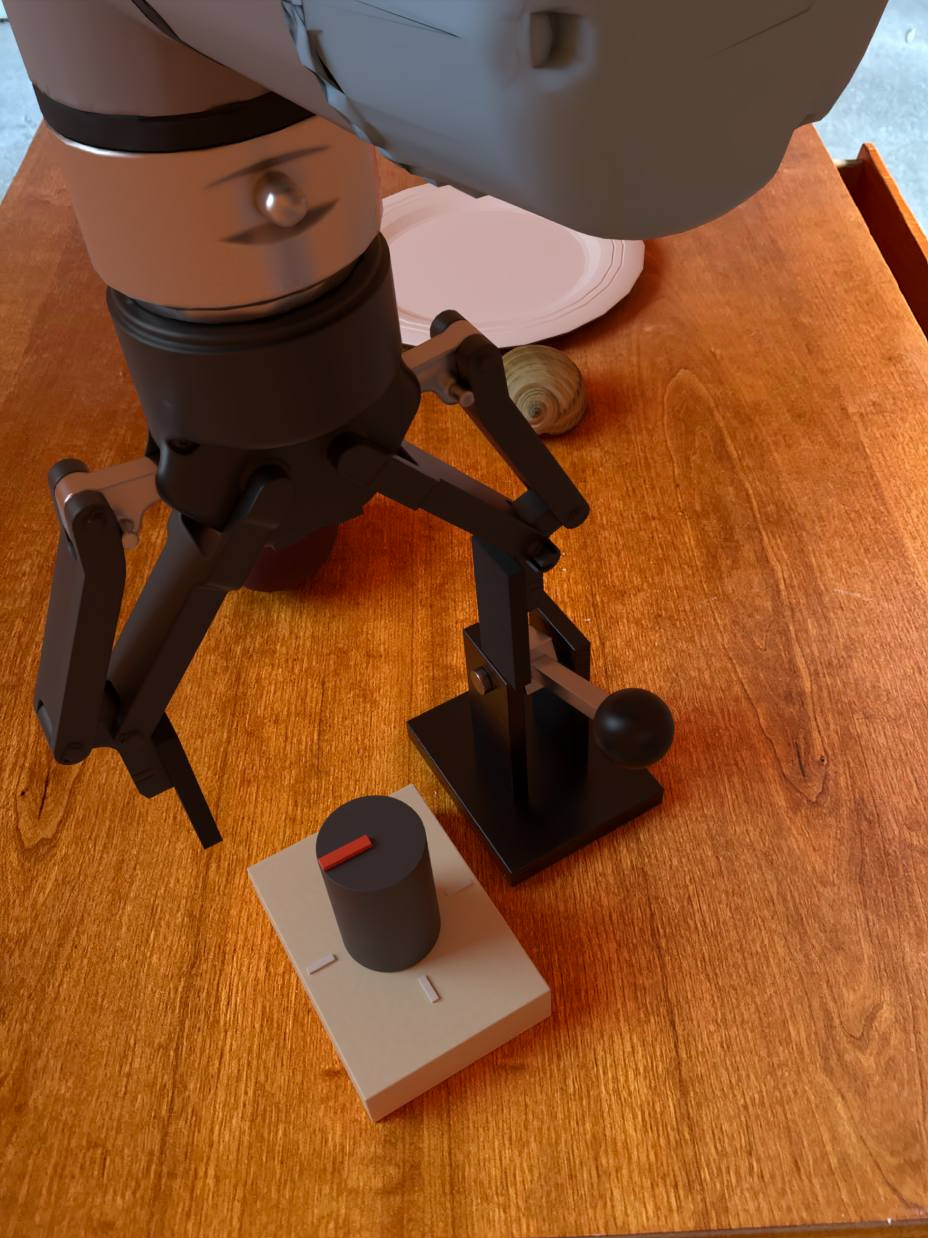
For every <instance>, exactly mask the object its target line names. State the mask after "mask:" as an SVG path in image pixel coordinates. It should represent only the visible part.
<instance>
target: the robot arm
mask: <svg viewBox="0 0 928 1238" xmlns="http://www.w3.org/2000/svg"><path fill="white" fill-rule="evenodd" d="M889 1H890V0H1V3H2V6H3V9H4V12H5V14H6V17H7V21H8V23H9V26H10V29H11V31H12V33H13V37H14V40H15V42H16V45H17V48H18V51H19V54H20V57H21V59H22V62H23V65H24V68H25V71H26V73H27V76H28V79H29V81H30V82H31V86H32V89H33V92H34V95H35V99H36V102H37V105H38V107H39V111H40V113H41V114H42V118H43V121H44V124H45V127H46V130H47V133H48V137H49V139H50V142H51V146H52V148H53V151H54V154H55V157H56V160H57V163H58V166H59V170H60V172H61V175H62V179H63V180H64V185H65V188H66V191H67V193H68V196H69V198H70V202H71V204H72V208H73V211H74V214H75V218H76V220H77V223H78V226H79V230H80V232H81V235H82V238H83V242H84V245H85V248H86V251H87V253H88V257H89V259H90V262H91V265H92V268H93V269H94V270H95V272H96V273H97V275H98V276H99V277H100V278H101V280H102V281H103V282H104V284H105V285H106V291H105V302H106V306H107V309H108V312H109V317H110V318H111V322H112V324H113V327H114V331H115V332H116V333H115V334H116V335H117V338H118V341H119V344H120V347H121V350H122V353H123V355H124V359H125V361H126V365H127V367H128V370H129V373H130V377H131V378H132V381H133V385H134V387H135V390H136V393H137V396H138V399H139V401H140V405H141V407H142V410H143V413H144V416H145V420H146V425H147V439H146V444H145V446H144V447H145V448H144V451H143V456H142V457H139V458H135V459H132V460H128V461H125V462H121V463H118V464H115V465H110V466H108V467H104V468H101V469H97V470H94V471H91V469H90V468H89V466H88V464H87V463H86V462H84V461H83V460H81V459H79V458H74V457H69V458H63V459H61V460H59V461H57V462H55V463H54V464H53V465H52V466H51V467H50V468H49V471H48V473H47V475H46V477H47V485H48V489H49V492H50V496H51V500H52V503H53V506H54V510H55V513H56V517H57V520H58V523H59V526H60V531H59V537H58V543H57V549H56V557H55V562H54V567H53V575H52V582H51V588H50V594H49V601H48V607H47V613H46V619H45V626H44V633H43V637H42V638H43V639H42V645H41V651H40V658H39V663H38V672H37V676H36V683H35V690H34V695H33V702H32V706H33V711H34V713H35V715H36V718H37V720H38V723H39V725H40V728H41V730H42V733H43V735H44V737H45V740H46V742H47V744H48V745H47V746H48V747H49V749H50V752H51V755H52V757H53V759H54V761H55V762H56V763H57V764H59V765H62V766H74V765H77V764H80V763H82V762H83V761H85V760H86V759H87V758H88V757H89V756H90V755H91V753H92V751H93V750H95V749H99V748H100V749H101V748H110V749H112V750H115V751H117V753H118V754H119V756H120V758H121V760H122V762H123V764H124V765H125V767H126V769H127V771H128V774H129V775H130V777H131V779H132V781H133V784H134V785H135V788H136V789H137V791H138V793H139V794H140V795H141V796H144V797H145V798H146V799H148V800H150V799H153V798H154V797H156V796H158V795H161V794H163V793H164V792H167V791H168V790H171V789H174V791H175V793H176V795H177V797H178V800H179V802H180V804H181V806H182V808H183V810H184V812H185V814H186V816H187V818H188V820H189V822H190V824H191V826H192V828H193V830H194V832H195V834H196V837H197V838H198V841H199V842H200V844H201V846H202V848H203V850H204V851H206V850H208V849H209V848H211V847H213V846H215V845H217V844H219V843H221V842H223V841H224V839H223V836H222V834H221V832H220V830H219V828H218V825H217V823H216V821H215V818H214V816H213V814H212V812H211V809H210V807H209V804H208V802H207V800H206V797H205V795H204V793H203V791H202V788H201V786H200V784H199V781H198V779H197V777H196V775H195V774H196V773H195V772H194V770H193V768H192V765H191V763H190V761H189V758H188V756H187V753H186V752H185V749H184V747H183V744H182V742H181V740H180V737H179V735H178V733H177V731H176V729H175V728H174V726H173V724H172V722H171V720H170V718H169V716H168V714H167V712H166V709H167V708H168V706H169V703H170V702H171V700H172V699H173V697H174V694H175V692H176V691H177V689H178V688H179V686H180V683H181V681H182V680H183V678H184V677H185V674H186V672H187V670H188V668H189V667H190V665H191V662H192V661H193V659H194V657H195V655H196V653H197V651H198V650H199V648H200V646H201V644H202V643H203V640H204V638H205V636H206V635H207V633H208V630H209V629H210V627H211V625H212V623H213V622H214V620H215V617H216V616H217V614H218V612H219V610H220V608H221V607H222V605H223V602H224V601H225V599H226V597H227V595H228V594H229V592H231V591H234V592H237V591H239V590H240V589H242V587H244V586H243V585H244V583H245V581H246V579H247V577H248V575H249V573H250V572H251V570H252V568H253V566H254V564H255V562H256V560H257V559H258V557H259V555H260V553H261V551H262V549H263V547H269V546H271V547H272V548H273V550H274V551H275V552H278V551H280V550H282V549H285V548H287V547H289V546H291V545H294V544H296V543H298V542H299V541H301V540H302V539H304V538H305V537H307V536H308V535H310V534H311V533H312V532H314V531H315V530H317V529H319V528H321V527H326V526H331V525H336V524H339V525H340V524H344V523H346V522H349V521H351V520H353V519H355V518H357V517H360V516H362V515H364V514H365V512H364V506H365V505H367V504H368V503H369V502H370V501H371V500H372V499H373V498H374V497H375V495H376V494H380V495H381V496H384V497H386V498H388V499H390V500H392V501H394V502H396V503H398V504H400V505H402V506H404V507H406V508H408V509H410V510H412V511H416V512H417V511H418V510H419V509H420V510H422V511H424V512H427V513H428V514H430V515H433V516H434V517H437V518H438V519H439V520H442V521H444V522H446V523H448V524H450V525H452V526H454V527H456V528H459V529H461V530H463V531H464V532H467V533H468V534H471V535H470V543H471V544H470V545H471V554H472V563H473V574H474V584H475V585H474V586H475V594H476V605H477V614H478V622H479V626H480V637H481V647H482V650H483V651H484V653H485V654H486V655H487V656H488V657H489V659H490V660H491V661H492V662H493V663H494V665H495V666H496V667H497V668H498V670H499V671H500V672H501V673H502V674H503V676H504V677H505V678H506V679H507V681H508V682H509V683H510V684H511V685H512V687H513V688H514V689H515V690H518V689H520V688H522V687H524V686H526V685H528V684H530V683H531V664H530V644H529V612H530V611H532V610H534V609H536V608H538V607H540V605H541V603H542V600H543V597H544V591H545V586H544V584H545V583H544V574H545V573H548V572H550V571H552V570H553V568H555V567H556V566H557V565H558V563H559V561H560V559H561V557H562V553H561V549H560V548H559V547H558V546H557V545H556V543H554V541H552V540H551V539H550V537H551V536H552V535H554V534H555V533H556V532H557V531H558V530H560V529H561V528H562V527H564V528H565V529H567V530H574V529H576V528H579V527H580V526H581V525H582V524H584V522H586V520H588V517H589V515H590V511H591V507H590V504H589V502H587V499H586V498H585V497H584V496H583V494H582V493H581V491H580V490H579V489H578V488H577V486H576V485H575V483H574V482H573V481H572V479H571V478H570V477H569V475H568V474H567V472H566V471H565V470H564V469H563V467H562V466H561V464H560V463H559V462H558V460H557V459H556V458H555V456H554V455H553V454H552V452H551V451H550V450H549V448H548V446H546V444H545V442H544V441H543V440H542V439H541V437H540V436H539V435H537V433H536V432H535V431H534V429H533V428H532V426H531V425H530V424H529V422H528V421H527V420H526V418H525V417H524V416H523V414H522V413H521V411H520V410H519V409H518V407H517V406H516V405H515V403H514V402H513V401H512V399H511V398H510V396H509V392H508V386H507V381H506V375H505V370H504V364H503V359H502V356H503V355H502V352H501V349H499V348H498V347H497V346H496V345H495V344H493V343H492V342H491V341H490V340H489V339H488V338H486V337H485V336H484V335H483V334H482V333H481V332H480V331H479V330H478V329H477V328H475V327H474V326H473V325H472V324H471V323H470V322H469V321H468V320H466V319H465V318H464V317H463V316H462V315H461V314H460V313H458V312H457V311H456V310H450V309H449V310H445V311H442V312H441V313H440V314H438V315H437V316H436V317H435V319H434V320H433V321H432V323H431V326H430V338H431V339H429V340H427V341H425V342H423V343H421V344H420V345H418V346H416V347H411V348H410V349H408V350H406V351H404V352H403V345H402V338H401V330H400V323H399V316H398V308H397V301H396V294H395V287H394V279H393V272H392V265H391V257H390V250H389V246H388V244H387V241H386V239H385V237H384V236H383V234H382V233H381V232H380V228H381V222H382V216H383V202H382V199H383V196H382V188H381V180H380V174H379V173H380V172H379V167H378V159H377V152H376V148H377V150H378V152H379V155H380V156H381V157H382V158H385V159H386V160H388V161H390V162H391V163H393V164H394V165H396V166H397V167H399V168H401V169H404V170H405V171H406V172H408V174H409V175H412V176H415V177H420V178H422V180H424V181H425V182H427V183H430V184H432V185H434V186H436V187H442V186H447V185H450V186H452V187H453V188H455V189H457V190H459V191H461V192H463V193H465V194H467V195H470V196H472V197H474V198H475V199H477V198H481V197H484V196H487V195H490V196H492V197H495V198H497V199H500V200H502V201H505V202H507V203H509V204H512V205H514V206H517V207H519V208H521V209H524V210H526V211H529V212H531V213H534V214H536V215H538V216H541V217H543V218H546V219H548V220H550V221H553V222H555V223H558V224H560V225H562V226H565V227H567V228H570V229H572V230H574V231H577V232H580V233H583V234H586V235H589V236H594V237H598V238H603V239H613V240H633V241H634V240H643V241H650V240H657V239H660V238H664V237H670V236H674V235H680V234H683V233H686V232H689V231H692V230H695V229H697V228H699V227H702V226H704V225H706V224H708V223H712V222H713V221H715V220H717V219H719V218H721V217H724V216H725V215H727V214H728V213H730V212H731V211H733V210H734V209H736V208H737V207H739V206H740V205H742V204H743V203H745V202H746V201H748V200H749V199H751V198H752V197H753V196H755V194H757V193H758V192H759V191H761V190H762V189H763V188H765V187H766V186H767V185H768V183H770V182H771V180H773V178H774V177H775V175H776V174H777V172H778V170H779V168H780V166H781V164H782V162H783V159H784V157H785V154H786V152H787V149H788V147H789V145H790V141H791V140H792V137H793V135H794V132H795V131H796V130H797V129H800V128H801V127H803V126H805V125H810V124H814V123H817V122H818V123H819V122H821V121H822V120H823V119H824V118H826V116H827V115H828V114H830V112H831V110H832V109H833V107H834V106H835V105H836V103H837V102H838V100H839V99H840V97H841V96H842V95H843V93H844V91H845V90H846V88H847V87H848V85H849V84H850V82H851V80H852V79H853V76H854V75H855V73H856V71H857V70H858V68H859V66H860V64H861V62H862V61H863V58H864V57H865V56H866V55H865V54H866V52H867V50H868V49H869V46H870V44H871V41H872V39H873V37H874V35H875V33H876V31H877V28H878V26H879V23H880V22H881V20H882V17H883V15H884V13H885V10H886V8H887V6H888V3H889ZM428 392H431V393H433V394H434V395H435V396H436V397H437V398H438V399H439V400H440V401H441V402H442V403H443V404H445V405H447V406H456V405H457V404H458V405H459V406H460V408H461V409H462V410H463V411H464V412H465V414H466V415H467V416H468V417H469V419H470V420H471V421H472V422H473V424H474V425H475V427H476V428H478V430H479V431H480V432H481V434H482V435H483V436H484V437H485V439H486V440H487V441H488V443H489V444H490V445H491V446H492V447H493V449H494V450H495V451H496V453H498V455H499V456H500V458H502V460H503V461H504V462H505V463H506V465H507V466H508V467H509V469H510V470H511V471H512V473H513V474H514V475H515V477H517V479H518V480H519V481H520V482H521V483H522V485H523V486H524V487H525V489H526V491H524V492H523V493H522V494H520V495H519V496H518V497H517V498H515V499H514V500H512V498H510V497H507V496H506V495H504V494H502V493H501V492H499V491H497V490H495V489H493V488H492V487H490V486H488V485H486V484H484V483H483V482H481V481H479V480H477V479H476V478H474V477H473V476H470V475H469V474H466V473H465V472H463V471H461V470H459V469H458V468H456V467H454V466H452V465H450V464H449V463H447V462H446V461H443V460H442V459H440V458H438V457H436V456H435V455H433V454H431V453H429V452H427V451H426V450H424V449H421V448H420V447H418V446H417V445H415V444H413V443H411V442H409V441H407V439H405V437H406V436H407V433H408V431H409V430H410V427H411V426H412V423H413V421H414V419H415V417H416V415H417V413H418V410H419V408H420V405H421V403H422V402H421V401H422V394H423V393H428ZM159 502H163V503H164V504H165V505H166V506H168V507H169V508H171V509H172V510H171V511H170V514H169V516H168V518H167V521H166V535H167V536H166V541H165V544H164V545H163V547H162V550H161V552H160V554H159V555H158V558H157V560H156V561H155V564H154V565H153V567H152V569H151V571H150V574H149V576H148V578H147V580H146V582H145V584H144V586H143V588H142V590H141V592H140V593H139V596H138V598H137V600H136V602H135V603H134V606H133V608H132V609H131V612H130V614H129V616H128V618H127V620H126V622H125V624H124V626H123V628H122V629H121V632H120V634H119V636H118V638H117V640H116V642H115V638H116V632H117V628H118V623H119V616H120V613H121V607H122V602H123V598H124V593H125V587H126V580H127V579H126V578H127V559H126V554H125V551H130V550H133V549H135V548H136V547H137V546H138V545H139V544H140V541H141V539H140V535H139V534H140V532H141V530H142V526H143V518H144V516H145V513H146V512H147V511H148V509H149V508H150V507H152V506H153V505H155V504H157V503H159ZM217 531H218V532H221V533H222V534H221V536H220V535H219V534H218V532H217ZM114 643H115V644H114Z"/></svg>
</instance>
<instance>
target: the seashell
mask: <svg viewBox="0 0 928 1238" xmlns="http://www.w3.org/2000/svg"><path fill="white" fill-rule="evenodd" d="M502 359H503V364H504V370H505V375H506V381H507V386H508V392H509V396H510V398H511V399H512V401H513V402H514V403H515V405H516V406H517V407H518V409H519V410H520V411H521V413H522V414H523V416H524V417H525V418H526V420H527V421H528V422H529V424H530V425H531V426H532V428H533V429H534V431H535V432H536V433H537V435H538V436H539V435H543V434H548V435H550V436H558V435H562V434H565V433H567V432H569V431H570V430H574V428H576V425H579V424H580V422H581V421H582V418H584V416H585V413H586V411H587V410H586V409H587V388H586V383H585V380H584V376H583V374H582V372H581V370H580V369H579V367H578V365H577V364H576V363H575V362H574V361H573V360H572V359H571V358H570V357H569V356H568V355H566V354H565V353H564V352H562V350H561V351H560V350H559V349H557V348H555V347H552V346H549V345H543V344H531V345H523V346H519V347H515V348H512V349H511V350H509V351H508V352H506V353H505V354H503V355H502Z"/></svg>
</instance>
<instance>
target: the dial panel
mask: <svg viewBox="0 0 928 1238" xmlns="http://www.w3.org/2000/svg"><path fill="white" fill-rule="evenodd" d="M387 796H389V797H393V798H396V799H398V800H401V801H403V802H404V803H406V804H407V805H409V806H410V807H411V808H413V809H414V810H415V811H416V813H417V814H418V815H419V817H420V818H421V820H422V822H423V824H424V827H425V831H426V837H427V842H428V848H429V854H430V860H431V866H432V871H433V877H434V883H435V889H436V894H437V900H438V906H439V912H440V917H441V927H440V933H439V937H438V939H437V942H436V944H435V945H434V947H433V949H432V950H431V951H430V953H429V954H428V955H427V956H426V957H425V958H424V959H423V960H421V961H420V962H419V963H417V964H416V965H414V966H412V967H410V968H408V969H405V970H402V971H397V972H378V971H374V970H370V969H368V968H366V967H364V966H362V965H360V964H359V963H357V962H356V961H355V960H354V959H353V958H352V957H351V956H350V954H349V953H348V951H347V950H346V948H345V945H344V943H343V940H342V937H341V934H340V930H339V927H338V924H337V921H336V918H335V915H334V912H333V908H332V905H331V902H330V899H329V896H328V893H327V890H326V886H325V883H324V880H323V877H322V874H321V871H320V867H319V864H318V861H317V857H316V840H317V836H318V833H319V830H318V831H316V832H314V833H313V834H310V835H308V836H307V837H305V838H302V839H301V840H299V841H297V842H295V843H294V844H291V845H290V846H287V847H286V848H284V849H281V850H280V851H278V852H276V853H274V854H271V855H270V856H268V857H266V858H264V859H262V860H261V861H258V862H256V863H255V864H253V865H250V866H248V867H247V868H246V872H247V874H248V876H249V879H250V881H251V884H252V886H253V888H254V891H255V893H256V896H257V899H258V900H259V902H260V904H261V906H262V908H263V909H264V912H265V914H266V915H267V918H268V920H269V922H270V923H271V925H272V927H273V930H274V932H275V934H276V935H277V937H278V940H279V941H280V943H281V945H282V947H283V949H284V951H285V953H286V955H287V957H288V959H289V961H290V964H291V965H292V967H293V969H294V971H295V973H296V975H297V977H298V978H299V981H300V982H301V984H302V986H303V988H304V990H305V992H306V995H307V997H308V998H309V1001H310V1002H311V1004H312V1006H313V1008H314V1010H315V1012H316V1014H317V1016H318V1018H319V1020H320V1023H321V1024H322V1026H323V1028H324V1030H325V1032H326V1033H327V1035H328V1038H329V1040H330V1041H331V1044H332V1045H333V1048H334V1050H335V1052H336V1054H337V1055H338V1058H339V1059H340V1061H341V1063H342V1065H343V1067H344V1069H345V1071H346V1073H347V1076H348V1077H349V1079H350V1082H351V1083H352V1085H353V1087H354V1089H355V1091H356V1093H357V1095H358V1097H359V1099H360V1101H361V1102H362V1105H363V1106H364V1108H365V1111H366V1113H367V1114H368V1116H369V1118H370V1120H371V1122H372V1123H373V1124H374V1123H376V1122H378V1121H380V1120H382V1119H383V1118H385V1117H386V1116H388V1115H390V1114H391V1113H393V1112H395V1111H396V1110H398V1109H400V1108H402V1107H403V1106H404V1105H406V1104H408V1103H410V1102H411V1101H413V1100H414V1099H416V1098H418V1097H419V1096H421V1095H422V1094H424V1093H426V1092H427V1091H429V1090H431V1089H432V1088H434V1087H436V1086H437V1085H439V1084H440V1083H443V1082H444V1081H445V1080H447V1079H449V1078H450V1077H452V1076H454V1075H455V1074H457V1073H459V1072H460V1071H462V1070H464V1069H465V1068H467V1067H469V1066H470V1065H472V1064H473V1063H475V1062H477V1061H478V1060H480V1059H482V1058H484V1057H485V1056H486V1055H488V1054H490V1053H491V1052H493V1051H495V1050H496V1049H498V1048H500V1047H502V1046H503V1045H504V1044H506V1043H508V1042H510V1041H511V1040H513V1039H515V1038H516V1037H517V1036H520V1035H521V1034H522V1033H524V1032H526V1031H527V1030H529V1029H531V1028H533V1027H534V1026H536V1025H538V1024H539V1023H541V1022H542V1021H544V1020H546V1019H547V1018H549V1017H551V1015H552V990H551V989H552V988H551V986H549V984H548V983H547V981H546V980H545V978H544V976H543V975H542V974H541V972H540V971H539V969H538V967H536V965H535V963H534V962H533V960H532V959H531V957H530V956H529V954H528V953H527V951H526V950H525V948H524V947H523V945H522V944H521V942H520V941H519V939H518V938H517V936H516V935H515V933H514V932H513V931H512V928H511V927H510V926H509V924H508V923H507V921H506V920H505V918H504V917H503V915H502V914H501V912H500V911H499V909H498V908H497V907H496V905H495V903H494V902H493V900H492V899H491V898H490V896H489V894H488V893H487V891H486V890H485V888H484V887H483V886H482V883H480V881H479V880H478V878H477V877H476V875H475V874H474V872H473V870H472V869H471V868H470V866H469V864H468V863H467V862H466V860H465V858H464V857H463V856H462V853H460V851H459V849H458V848H457V846H456V845H455V844H454V842H453V840H452V839H451V837H450V836H449V835H448V833H447V832H446V830H445V828H444V827H443V826H442V824H441V823H440V821H439V820H438V818H437V817H436V815H435V814H434V812H433V811H432V809H431V808H430V806H429V805H428V803H427V802H426V800H425V799H424V797H423V796H422V794H421V792H420V791H419V789H418V788H417V787H416V785H415V784H414V783H413V782H412V783H409V784H408V785H405V786H404V787H402V788H399V789H398V790H396V791H394V792H392V793H390V794H388V795H387Z"/></svg>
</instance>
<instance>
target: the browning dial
mask: <svg viewBox="0 0 928 1238" xmlns="http://www.w3.org/2000/svg"><path fill="white" fill-rule="evenodd" d="M318 831H319V833H318V836H317V840H316V857H317V861H318V864H319V867H320V871H321V874H322V877H323V880H324V883H325V886H326V890H327V893H328V896H329V899H330V902H331V905H332V908H333V912H334V915H335V918H336V921H337V924H338V927H339V930H340V934H341V937H342V940H343V943H344V945H345V948H346V950H347V951H348V953H349V954H350V956H351V957H352V958H353V959H354V960H355V961H356V962H357V963H359V964H360V965H362V966H364V967H366V968H368V969H370V970H374V971H378V972H397V971H402V970H405V969H408V968H410V967H412V966H414V965H416V964H417V963H419V962H420V961H421V960H423V959H424V958H425V957H426V956H427V955H428V954H429V953H430V951H431V950H432V949H433V947H434V945H435V944H436V942H437V939H438V937H439V933H440V927H441V917H440V912H439V906H438V900H437V894H436V889H435V883H434V877H433V871H432V866H431V860H430V854H429V848H428V842H427V837H426V831H425V827H424V824H423V822H422V820H421V818H420V817H419V815H418V814H417V813H416V811H415V810H414V809H413V808H411V807H410V806H409V805H407V804H406V803H404V802H403V801H401V800H398V799H396V798H393V797H389V796H388V795H382V794H372V795H371V794H370V795H364V796H360V797H356V798H353V799H351V800H348V801H346V802H344V803H342V804H341V805H339V806H338V807H336V808H335V809H334V810H333V811H331V813H330V814H329V815H328V816H327V818H325V820H324V821H323V823H322V824H321V826H320V828H319V830H318Z"/></svg>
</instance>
